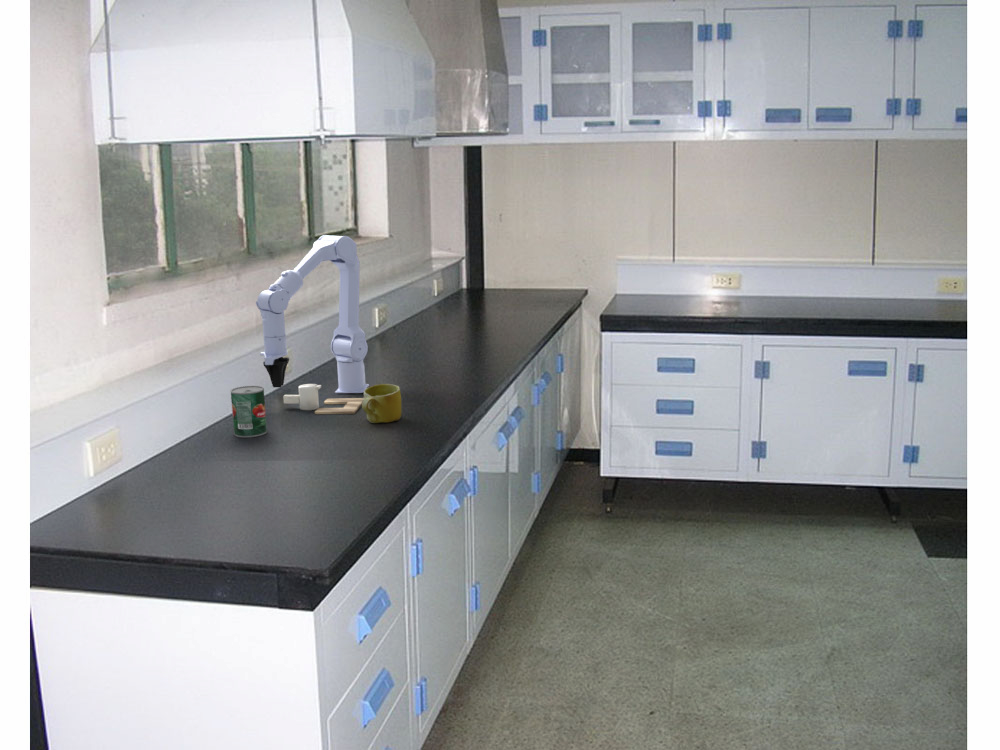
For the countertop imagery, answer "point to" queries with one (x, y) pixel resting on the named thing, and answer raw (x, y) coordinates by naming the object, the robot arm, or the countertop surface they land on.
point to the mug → (382, 403)
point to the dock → (349, 408)
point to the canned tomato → (248, 411)
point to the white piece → (305, 397)
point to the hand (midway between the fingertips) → (278, 386)
